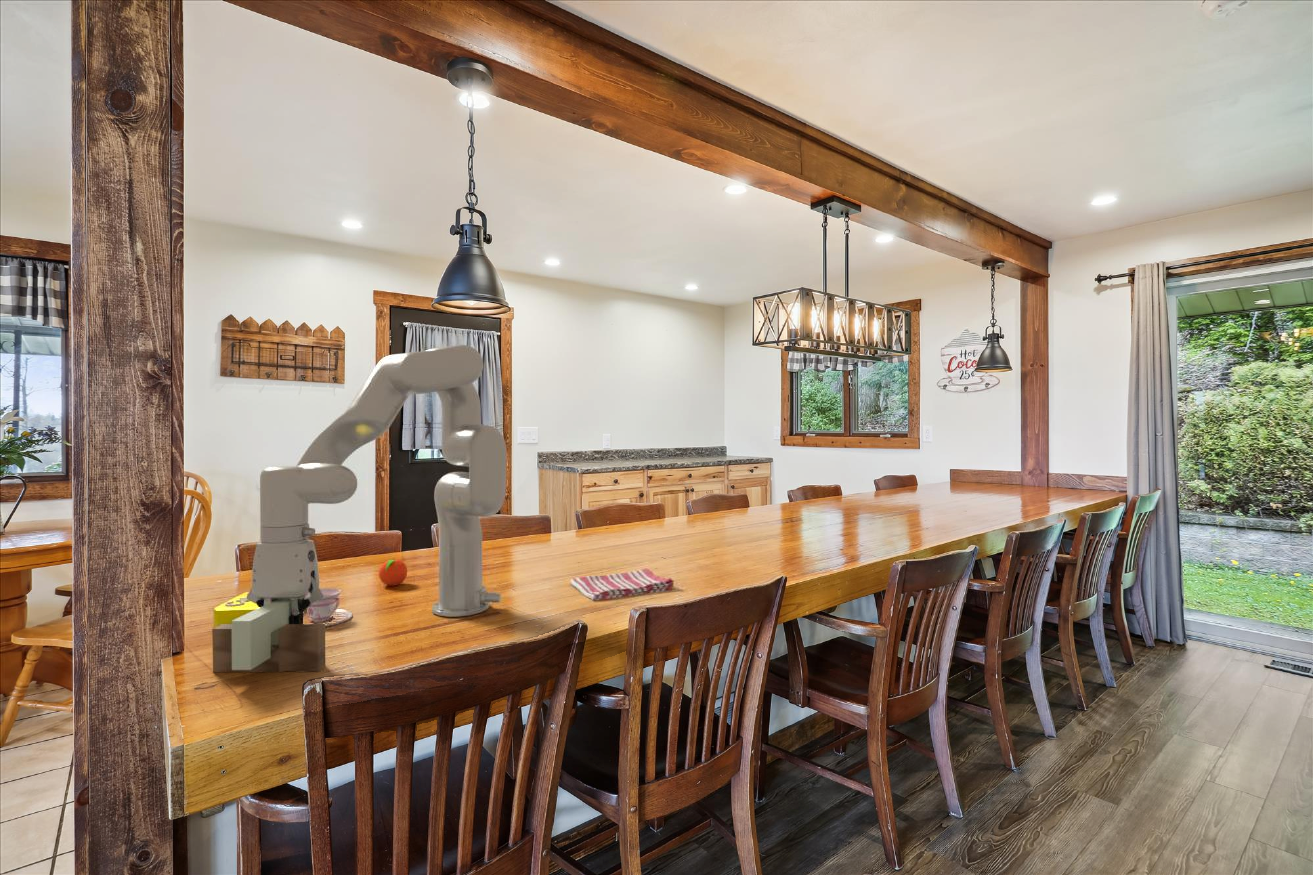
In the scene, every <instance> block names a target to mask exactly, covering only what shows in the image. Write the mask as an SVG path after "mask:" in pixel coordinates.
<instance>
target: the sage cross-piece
mask: <svg viewBox="0 0 1313 875" xmlns="http://www.w3.org/2000/svg"><path fill="white" fill-rule="evenodd" d="M290 615H292V609H291V600H290V598H279V599H277V600H275V601H273V602H271V603H268V604H266V605H264V606H262V607H260V608H258V609H256V610H254V611H252V612H249V613H247V614H245V615H243V616H241V617H239V618H237V619H235V620H233V621H232V670H251V669H253V668H255V667H256V666H258V665H259V664H261V663H263V662H264V661H266V660H268V659H269V658H271V645H279V628H281V627H283V626H284V625H286V624H289V616H290Z"/></svg>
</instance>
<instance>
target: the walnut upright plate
mask: <svg viewBox="0 0 1313 875" xmlns="http://www.w3.org/2000/svg"><path fill="white" fill-rule="evenodd" d="M211 632H212V634H211V635H212V673H281V672H280V671H319V672H320V671H322V668H323V669H324V668H326V627H325V624H286V625H284V626H283V627H281V628H279V645H271V658H269V659H268V660H266V661H264V662H263V663H261V664H259V665H258V666H256V667H255V668H253V669H251V670H232V624H222V625H220V626H217V627H215V628H214V627H213V628H212V631H211Z"/></svg>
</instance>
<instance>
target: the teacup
mask: <svg viewBox="0 0 1313 875" xmlns="http://www.w3.org/2000/svg"><path fill="white" fill-rule="evenodd" d="M319 589H320V591H321V592H322V594H323V597H322V598H321V599H319V600H317V601H315V602H314V603H312V604H311V605H310V606H309V607H308V608H307V611H306V612H305V613H303V617H304V616H307V617H308V618H310V619H311V620H310V621H312V623H321V624H323V623H324V622H329V621H331V620H330V619H331V616H333V614H335V612H336V614H337V613H338V614H345V615H339V616H347V617H333V619H332V620H342V621H333V622H336V623H325V624H327V625H325V628H326V627H330V625H331V626H335V625H338V624H343V623H345V622H347V621H349V620H350V619H352V618H353V613H352V612H351V611H350V610H345V609H338V607H339V604H340V602H339V600H340V598H339V596H340V594H341V593H342V590H341V589H339V588H335V587H321V588H320V587H319ZM310 596H311V594H310V593H308V594H307V596H305V597H306V599H307V598H309V597H310ZM334 616H335V615H334ZM336 616H337V615H336ZM334 618H345V619H334ZM326 620H327V621H326ZM323 621H324V622H323ZM331 622H332V621H331Z"/></svg>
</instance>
